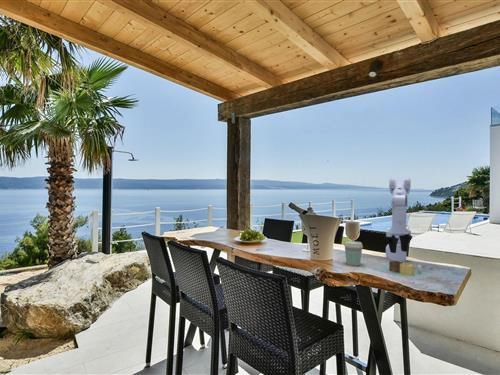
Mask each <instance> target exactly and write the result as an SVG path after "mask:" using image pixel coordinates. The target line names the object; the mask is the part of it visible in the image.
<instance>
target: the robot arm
mask: <svg viewBox="0 0 500 375" xmlns="http://www.w3.org/2000/svg"><path fill="white" fill-rule="evenodd" d="M411 181H412V180H411V178H410V177H389V180H388V182H389V183H388V184H389V186H388V188H389V192H390V194H392V196H391V200H390V201H391V202H390V203H391V227H390V228H389V229H388V231H386V233H385V237H384V239H385V240H386V242H387V245H386V246H385V259H389V260H390V261H399V262H407V253H408V252H407V251H408V249H409V245H410V243H411V241H412V239H413V235H412V230H409V229H408V228H407V208H408V204H409V199H408V198H409V197H408V195H409V194H410V192H411V187H412V186H411Z"/></svg>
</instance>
